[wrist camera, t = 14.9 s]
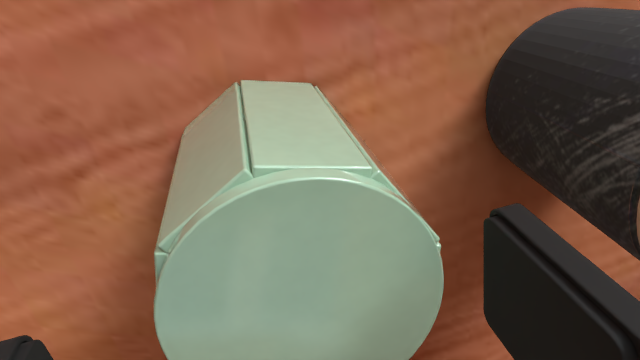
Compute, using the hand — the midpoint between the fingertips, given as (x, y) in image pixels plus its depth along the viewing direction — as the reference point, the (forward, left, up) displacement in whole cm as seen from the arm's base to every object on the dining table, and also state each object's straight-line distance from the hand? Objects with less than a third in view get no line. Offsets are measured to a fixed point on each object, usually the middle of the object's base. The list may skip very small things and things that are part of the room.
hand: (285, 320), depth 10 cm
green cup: (+1, +1, -10) cm, 10 cm away
